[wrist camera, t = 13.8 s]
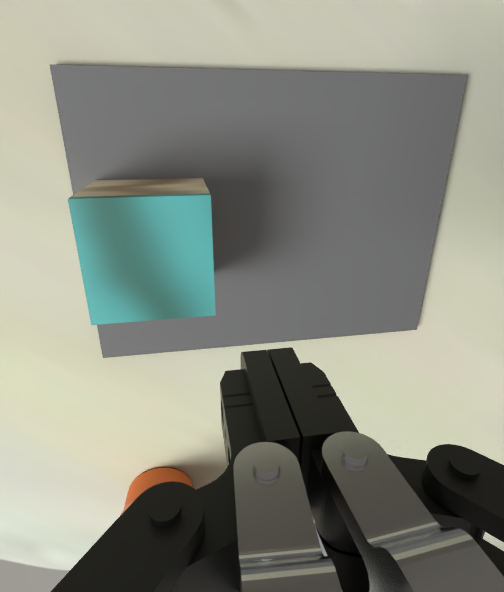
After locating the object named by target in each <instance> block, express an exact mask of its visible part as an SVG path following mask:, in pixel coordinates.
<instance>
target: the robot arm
mask: <svg viewBox="0 0 504 592" xmlns="http://www.w3.org/2000/svg"><path fill="white" fill-rule="evenodd" d="M220 392H221V418H222V430H223V437H224V444H225V450H226V458H227V465H228V467H227V469H226V470H225V472H224V473H223V474H222V475H221V476H220V477H219V478H218V479H216V480H215V481H213V482H212V483H210V484H208V485H206V486H203V487H201V488H199V489H197V490H195V489H194V488H193V487H191V486H190V485H188V484H185V483H182V482H175V481H170V482H163V483H159V484H157V485H154V486H152V487H150V488H148V489H147V490H145V491H144V492H143V493H141V494H140V495H139V496H138V497H137V498H136V499H135V500H134V502H133V503H132V504H131V505H130V506H129V507H128V508H127V509H126V510H125V511H124V512H123V514H122V515H121V516H120V517H119V518H118V519H117V520H116V521H115V522H114V523H113V524H112V526H111V527H110V528H109V529H108V530H107V531H106V532H105V533H104V534H103V535H102V536H101V537H100V539H99V540H98V541H97V542H96V543H95V544H94V545H93V546H92V547H91V548H90V549H89V551H88V552H87V553H86V554H85V555H84V556H83V557H82V558H81V559H80V560H79V561H78V563H77V564H76V565H75V566H74V567H73V568H72V569H71V570H70V571H69V572H68V573H67V575H66V576H65V577H64V578H63V579H62V580H61V581H60V582H59V583H58V584H57V585H56V587H55V588H54V589H53V590H52V591H51V592H504V551H502V550H500V549H499V548H497V547H495V546H494V545H492V544H490V543H489V542H487V541H485V540H484V539H482V538H483V536H484V533H485V532H487V533H488V534H490V535H492V536H494V537H495V538H497V539H499V540H500V541H502V542H504V465H502V464H500V463H498V462H496V461H494V460H491V459H489V458H487V457H485V456H483V455H481V454H479V453H477V452H475V451H473V450H470V449H468V448H465V447H462V446H458V445H451V444H444V445H439V446H436V447H434V448H433V449H431V450H430V452H429V453H428V456H427V460H426V461H425V460H417V459H410V458H402V457H396V456H392V455H388V454H386V452H385V451H384V449H383V448H382V447H381V446H380V445H379V444H378V443H377V442H376V441H374V440H373V439H372V438H370V437H368V436H366V435H363V434H360V433H359V432H358V430H357V428H356V427H355V425H354V423H353V422H352V420H351V418H350V416H349V415H348V413H347V411H346V410H345V408H344V406H343V404H342V403H341V401H340V399H339V398H338V396H336V392H335V391H334V389H333V387H332V386H331V384H330V382H329V380H328V379H327V377H326V375H325V373H324V372H323V371H322V370H320V369H319V368H318V367H316V366H315V365H314V364H312V363H301V364H300V362H299V360H298V358H297V356H296V354H295V352H294V350H293V348H281V349H270V350H267V351H266V350H260V351H248V352H241V370H230V371H225V374H224V376H223V378H222V380H221V382H220ZM313 519H314V520H313ZM314 522H315V523H314Z"/></svg>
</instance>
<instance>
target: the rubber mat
mask: <svg viewBox="0 0 504 592" xmlns="http://www.w3.org/2000/svg"><path fill="white" fill-rule="evenodd" d="M50 69H51V74H52V80H53V85H54V91H55V96H56V102H57V107H58V113H59V118H60V124H61V129H62V135H63V140H64V146H65V151H66V157H67V162H68V168H69V173H70V179H71V184H72V190H73V195H74V194H76V193H77V192H79V191H80V190H82V189H83V188H85V187H86V186H87V185H89V184H90V183H92V182H93V181H95V180H134V179H184V178H203V180H204V182H205V184H206V186H207V188H208V190H209V192H210V194H211V212H212V237H213V262H214V287H215V311H216V316H203V317H190V318H177V319H164V320H151V321H138V322H125V323H112V324H99V325H97V327H98V333H99V338H100V344H101V349H102V355H103V358H107V357H118V356H129V355H141V354H152V353H163V352H174V351H185V350H196V349H207V348H218V347H229V346H241V345H252V344H263V343H274V342H285V341H296V340H307V339H318V338H329V337H341V336H352V335H363V334H374V333H385V332H396V331H407V330H417V327H418V322H419V317H420V312H421V307H422V302H423V297H424V292H425V286H426V281H427V276H428V271H429V266H430V261H431V256H432V251H433V246H434V241H435V236H436V231H437V226H438V221H439V216H440V211H441V206H442V201H443V196H444V191H445V186H446V181H447V176H448V171H449V166H450V161H451V156H452V151H453V146H454V141H455V136H456V131H457V126H458V121H459V116H460V111H461V106H462V101H463V96H464V91H465V86H466V81H467V76H468V75H447V74H407V73H367V72H327V71H287V70H247V69H207V68H167V67H127V66H87V65H50Z"/></svg>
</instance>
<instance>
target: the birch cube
mask: <svg viewBox="0 0 504 592" xmlns="http://www.w3.org/2000/svg"><path fill="white" fill-rule="evenodd" d="M68 203H69V208H70V213H71V218H72V224H73V229H74V234H75V240H76V245H77V250H78V256H79V261H80V266H81V272H82V277H83V282H84V288H85V293H86V298H87V303H88V309H89V314H90V319H91V325H99V324H112V323H125V322H138V321H151V320H164V319H177V318H190V317H203V316H216V311H215V287H214V262H213V237H212V212H211V194H210V192H209V190H208V188H207V186H206V184H205V182H204V180H203V178H184V179H134V180H95V181H93V182H92V183H90V184H89V185H87V186H86V187H85V188H83V189H82V190H80V191H79V192H77V193H76V194H74V195H73V196H71V197H70V198H69V199H68Z"/></svg>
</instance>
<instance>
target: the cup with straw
mask: <svg viewBox="0 0 504 592" xmlns="http://www.w3.org/2000/svg"><path fill="white" fill-rule="evenodd" d="M170 481H175V482H182V483H185V484H188V485H190V486H191V487H193V485H192V482H191V480H190V479H189V477H188V476H187V475H186V474H184V473H183V472H181V471H179V470H176V469H172V468H156V469H152V470H149V471H146V472H144V473H142V474H141V475H139V476H138V477H137V478H136V479H135V480H134V481H133V482H132V484H131V485H130V488H129V491H128V494H127V498H126V502H125V507H124V510H123V512H124V511H125V510H126V509H127V508H128V507H129V506H130V505H131V504H132V503H133V502H134V500H135V499H136V498H137V497H138V496H139V495H140V494H141V493H143V492H144V491H145V490H147V489H148V488H150V487H152V486H154V485H157V484H159V483H163V482H170ZM123 512H122V513H121V515H122V514H123ZM121 515H120V516H121Z"/></svg>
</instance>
